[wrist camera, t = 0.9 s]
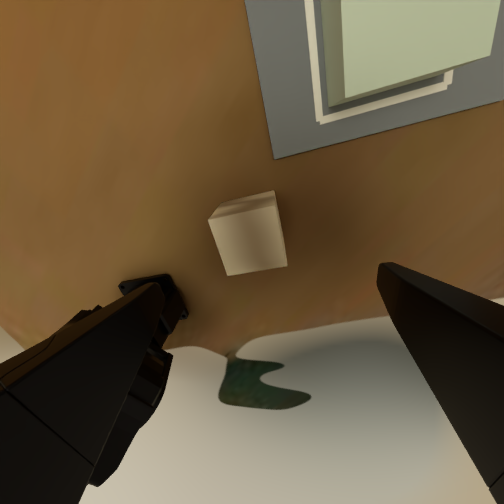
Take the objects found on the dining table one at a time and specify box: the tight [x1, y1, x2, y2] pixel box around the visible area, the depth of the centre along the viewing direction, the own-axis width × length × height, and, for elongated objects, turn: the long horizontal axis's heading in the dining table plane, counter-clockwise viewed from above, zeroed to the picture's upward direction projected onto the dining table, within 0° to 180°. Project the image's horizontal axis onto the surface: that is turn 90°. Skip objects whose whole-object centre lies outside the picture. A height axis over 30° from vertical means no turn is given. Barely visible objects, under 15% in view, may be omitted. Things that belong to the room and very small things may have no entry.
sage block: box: [320, 0, 501, 107], centre depth 12 cm, size 7×7×4 cm
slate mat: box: [245, 0, 504, 159], centre depth 14 cm, size 16×12×1 cm
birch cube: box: [208, 190, 288, 276], centre depth 18 cm, size 5×5×5 cm
